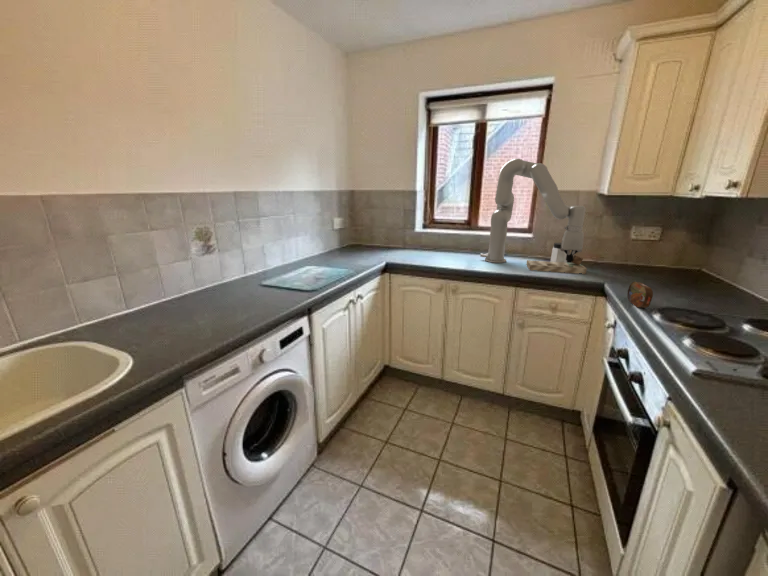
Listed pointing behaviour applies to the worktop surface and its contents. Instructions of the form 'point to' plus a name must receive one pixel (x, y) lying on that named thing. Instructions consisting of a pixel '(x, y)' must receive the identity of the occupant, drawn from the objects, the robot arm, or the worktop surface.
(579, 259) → the block
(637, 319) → the worktop surface
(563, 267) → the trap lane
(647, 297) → the tin
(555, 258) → the jar
